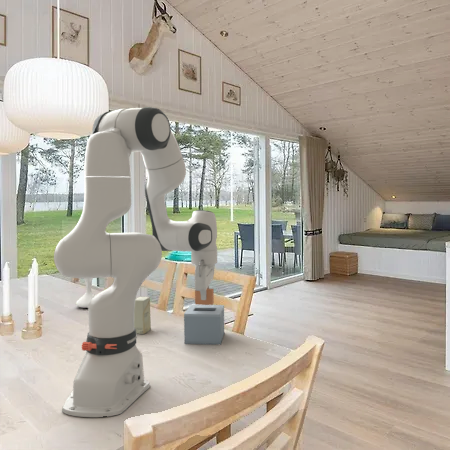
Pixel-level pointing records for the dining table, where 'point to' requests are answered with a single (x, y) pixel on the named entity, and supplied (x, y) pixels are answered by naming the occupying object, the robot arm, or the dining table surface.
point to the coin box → (204, 324)
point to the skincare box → (142, 315)
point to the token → (208, 301)
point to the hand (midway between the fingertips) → (204, 298)
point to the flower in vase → (86, 295)
